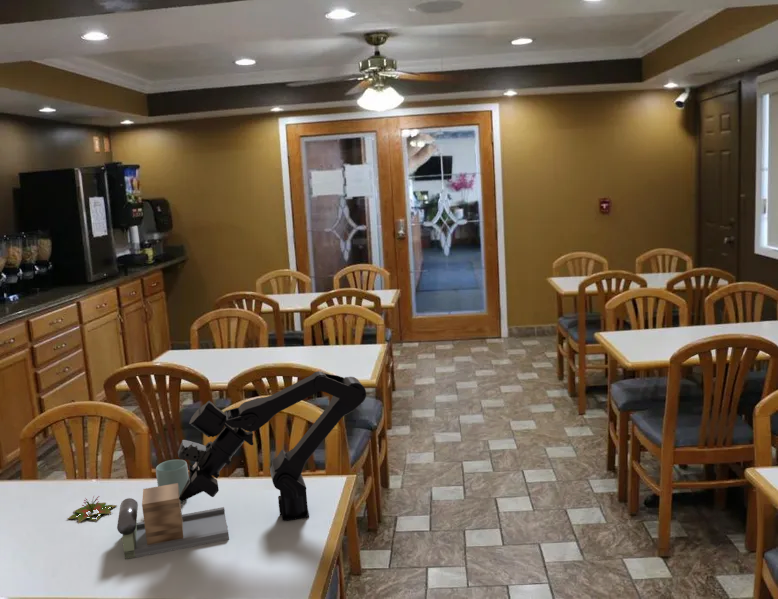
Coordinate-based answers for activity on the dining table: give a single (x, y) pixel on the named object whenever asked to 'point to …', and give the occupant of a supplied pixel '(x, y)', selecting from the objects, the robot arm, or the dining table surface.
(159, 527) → the brown wooden block
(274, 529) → the dining table surface
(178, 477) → the cup
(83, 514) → the lily flower
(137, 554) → the bay
